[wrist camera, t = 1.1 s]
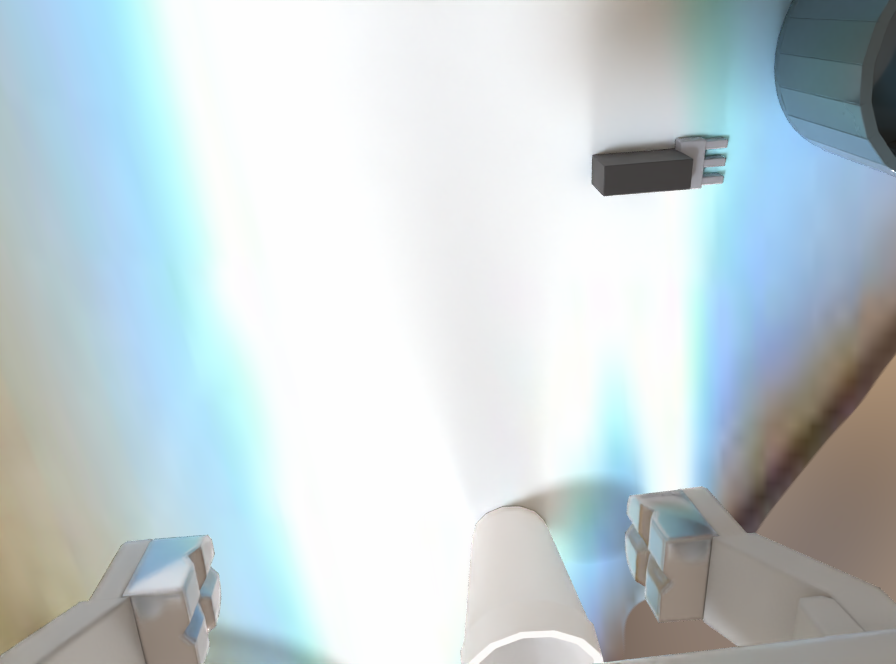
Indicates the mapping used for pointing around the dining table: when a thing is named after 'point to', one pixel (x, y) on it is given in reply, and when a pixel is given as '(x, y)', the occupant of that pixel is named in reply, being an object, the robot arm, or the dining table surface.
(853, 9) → the blue-grey round hollow container
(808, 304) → the dining table surface
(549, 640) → the foam cup
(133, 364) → the dining table surface
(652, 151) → the two-tone pronged bar
